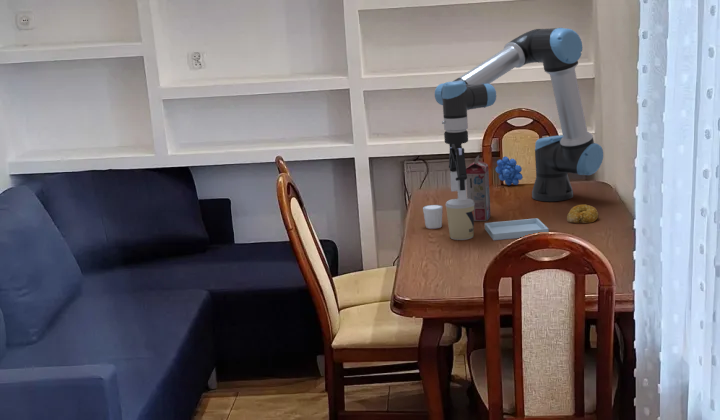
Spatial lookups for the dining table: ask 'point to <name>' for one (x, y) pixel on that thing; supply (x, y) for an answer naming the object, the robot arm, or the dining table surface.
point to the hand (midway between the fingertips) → (458, 195)
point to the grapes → (509, 171)
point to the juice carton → (479, 189)
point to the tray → (514, 228)
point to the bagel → (582, 214)
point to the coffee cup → (460, 218)
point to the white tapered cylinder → (433, 216)
